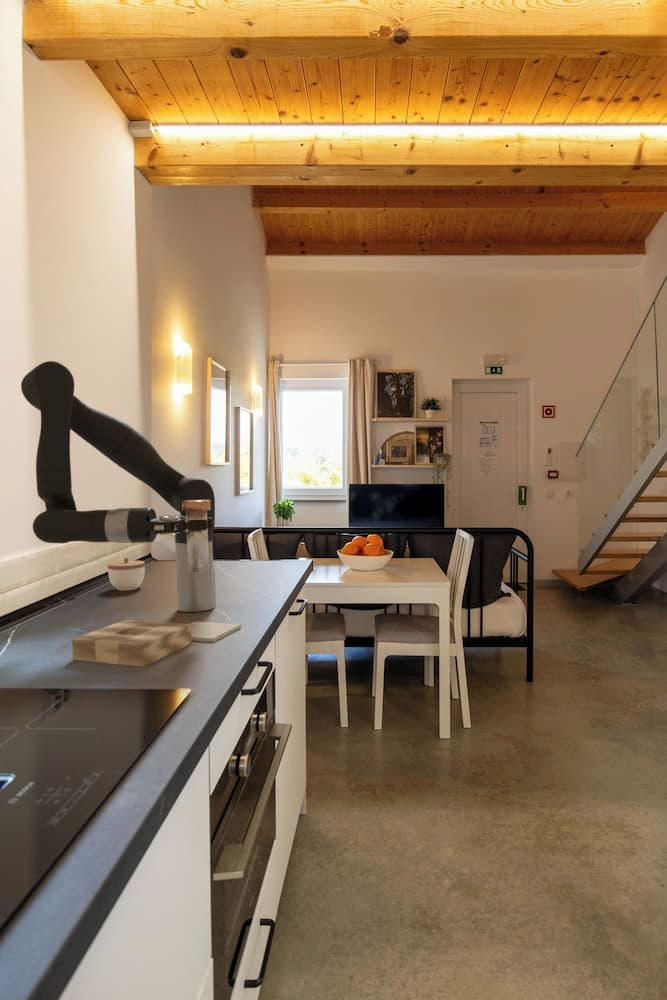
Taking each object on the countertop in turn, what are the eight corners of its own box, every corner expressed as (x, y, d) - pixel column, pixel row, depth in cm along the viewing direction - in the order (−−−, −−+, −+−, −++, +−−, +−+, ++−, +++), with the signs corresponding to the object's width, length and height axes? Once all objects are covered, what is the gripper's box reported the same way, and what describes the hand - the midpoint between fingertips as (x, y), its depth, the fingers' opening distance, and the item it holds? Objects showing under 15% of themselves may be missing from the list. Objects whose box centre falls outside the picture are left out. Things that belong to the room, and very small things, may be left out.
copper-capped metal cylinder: (194, 567, 146) (191, 500, 145) (218, 568, 144) (215, 500, 143) (178, 572, 140) (176, 501, 139) (203, 573, 138) (200, 501, 137)
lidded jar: (153, 587, 200) (152, 556, 200) (125, 593, 191) (123, 561, 191) (129, 584, 206) (128, 554, 205) (100, 590, 197) (99, 559, 196)
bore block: (126, 638, 141) (125, 619, 140) (191, 643, 135) (190, 624, 135) (73, 659, 126) (71, 639, 125) (143, 666, 120) (142, 645, 120)
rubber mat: (194, 624, 151) (194, 621, 151) (241, 628, 147) (241, 624, 147) (164, 638, 140) (163, 634, 140) (213, 642, 136) (213, 638, 136)
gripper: (118, 510, 135) (201, 508, 134) (141, 505, 149) (216, 504, 148) (120, 547, 135) (202, 545, 134) (142, 538, 149) (217, 537, 149)
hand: (209, 523), depth 141 cm, fingers closed on copper-capped metal cylinder, 4 cm apart
